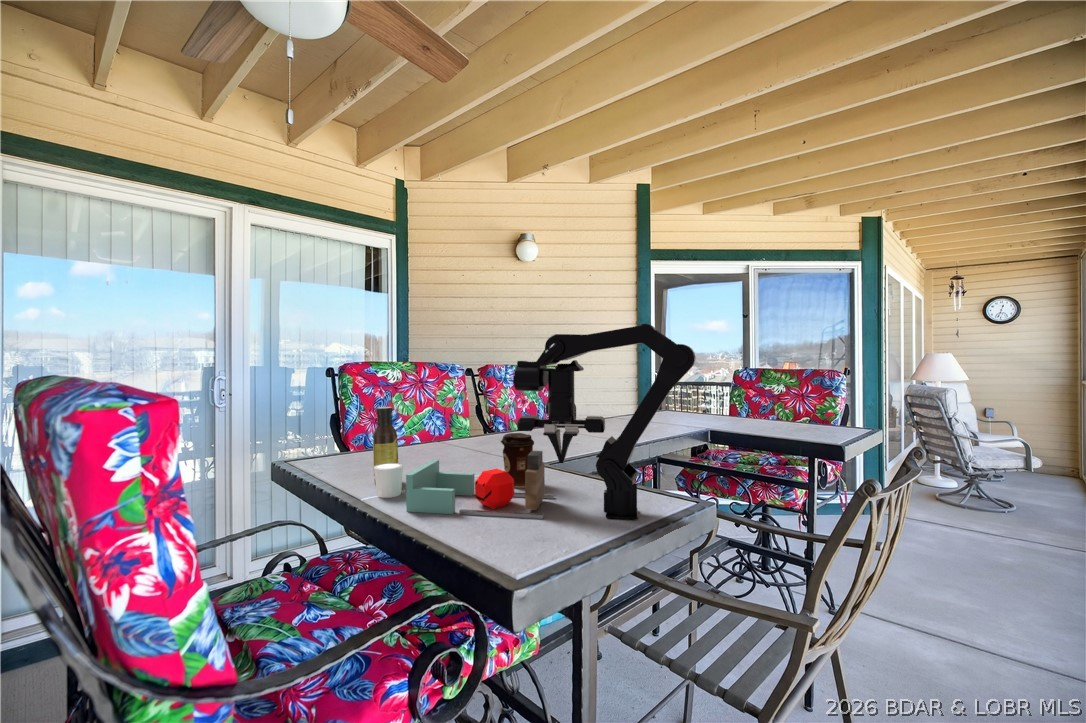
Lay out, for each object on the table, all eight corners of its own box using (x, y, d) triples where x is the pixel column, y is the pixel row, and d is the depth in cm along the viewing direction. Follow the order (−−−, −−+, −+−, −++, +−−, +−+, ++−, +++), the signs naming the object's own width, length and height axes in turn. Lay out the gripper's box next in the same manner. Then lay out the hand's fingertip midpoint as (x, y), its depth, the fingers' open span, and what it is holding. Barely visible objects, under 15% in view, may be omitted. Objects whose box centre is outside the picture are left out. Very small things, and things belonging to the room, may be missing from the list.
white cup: (400, 488, 126) (399, 461, 126) (406, 495, 120) (406, 466, 120) (371, 492, 123) (371, 464, 122) (377, 500, 116) (376, 470, 116)
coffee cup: (498, 489, 125) (498, 437, 124) (502, 480, 133) (502, 432, 133) (533, 489, 124) (533, 437, 124) (535, 480, 133) (535, 432, 132)
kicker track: (554, 497, 117) (554, 494, 117) (542, 519, 103) (542, 515, 103) (480, 494, 121) (480, 490, 121) (459, 514, 106) (459, 510, 106)
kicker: (544, 496, 115) (544, 448, 115) (536, 509, 105) (536, 458, 105) (534, 495, 116) (534, 448, 115) (525, 509, 106) (525, 457, 106)
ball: (470, 504, 113) (469, 471, 112) (498, 497, 118) (498, 465, 118) (490, 513, 107) (490, 477, 106) (519, 505, 112) (519, 471, 112)
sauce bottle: (402, 482, 132) (401, 407, 131) (380, 487, 128) (379, 409, 127) (391, 477, 137) (390, 405, 136) (369, 482, 132) (368, 407, 132)
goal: (474, 493, 121) (474, 461, 121) (452, 514, 106) (452, 476, 106) (433, 491, 123) (433, 459, 123) (406, 511, 108) (406, 474, 108)
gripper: (606, 389, 115) (606, 456, 116) (527, 388, 119) (527, 454, 119) (603, 393, 104) (603, 467, 105) (516, 392, 108) (517, 464, 108)
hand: (561, 462), depth 109 cm, fingers closed
